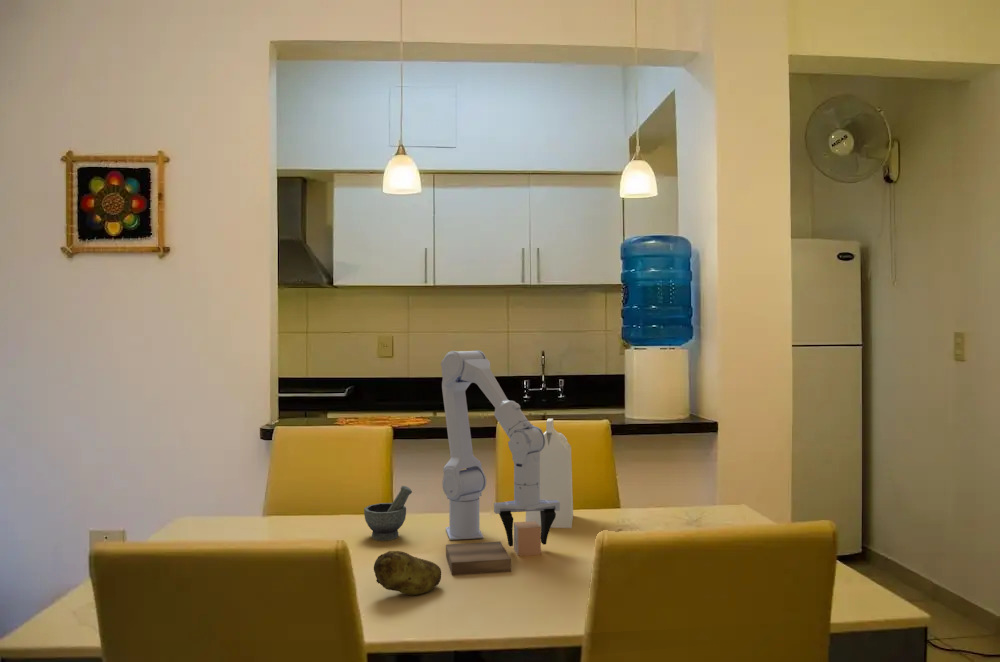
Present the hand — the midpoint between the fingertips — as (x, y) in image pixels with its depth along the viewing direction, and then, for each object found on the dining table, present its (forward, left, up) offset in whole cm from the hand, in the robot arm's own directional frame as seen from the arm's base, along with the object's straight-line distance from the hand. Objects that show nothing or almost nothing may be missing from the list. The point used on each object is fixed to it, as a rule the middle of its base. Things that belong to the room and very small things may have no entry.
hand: (527, 544), depth 154 cm
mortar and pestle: (-17, -30, -2) cm, 35 cm away
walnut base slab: (+6, -12, -2) cm, 14 cm away
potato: (+20, -27, -2) cm, 34 cm away
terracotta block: (0, 0, -2) cm, 2 cm away
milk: (-24, +11, -2) cm, 26 cm away
